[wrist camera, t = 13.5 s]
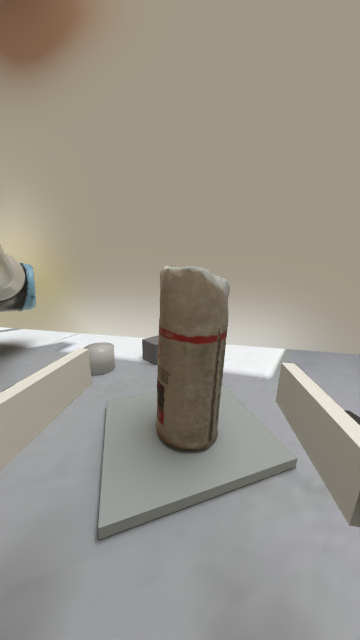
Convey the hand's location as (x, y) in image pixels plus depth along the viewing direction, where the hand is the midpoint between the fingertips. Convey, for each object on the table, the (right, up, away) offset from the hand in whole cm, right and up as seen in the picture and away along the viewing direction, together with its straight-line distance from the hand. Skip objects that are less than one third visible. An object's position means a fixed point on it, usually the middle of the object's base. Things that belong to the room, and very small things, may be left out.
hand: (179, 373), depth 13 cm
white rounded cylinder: (-17, -7, +29) cm, 35 cm away
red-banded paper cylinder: (+1, -10, +12) cm, 16 cm away
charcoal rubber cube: (-6, -6, +35) cm, 36 cm away
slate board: (+1, -11, +12) cm, 17 cm away
